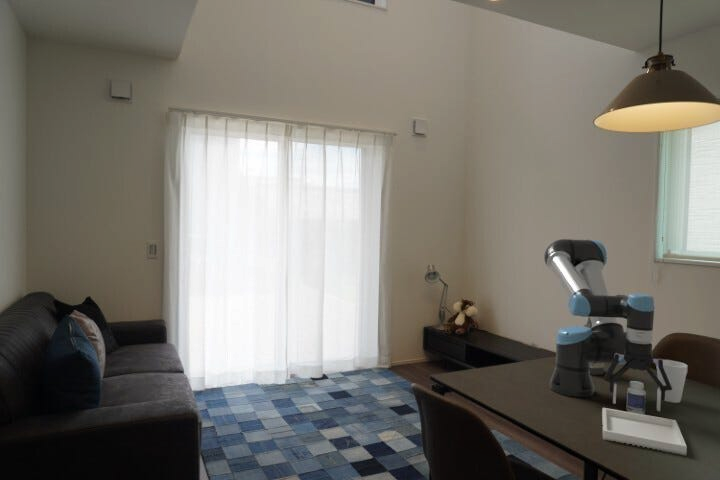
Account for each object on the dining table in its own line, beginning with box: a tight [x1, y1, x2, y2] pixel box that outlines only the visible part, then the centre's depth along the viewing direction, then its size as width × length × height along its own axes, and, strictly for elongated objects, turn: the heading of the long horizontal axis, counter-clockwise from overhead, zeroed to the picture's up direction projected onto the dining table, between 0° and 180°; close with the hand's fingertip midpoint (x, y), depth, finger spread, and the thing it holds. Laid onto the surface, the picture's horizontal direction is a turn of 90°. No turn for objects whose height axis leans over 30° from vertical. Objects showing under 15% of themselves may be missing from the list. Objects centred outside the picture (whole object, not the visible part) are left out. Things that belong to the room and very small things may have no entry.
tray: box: [601, 407, 688, 456], centre depth 143 cm, size 20×20×2 cm
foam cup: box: [655, 359, 688, 404], centre depth 172 cm, size 10×9×13 cm
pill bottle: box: [625, 380, 647, 415], centre depth 160 cm, size 5×5×10 cm
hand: (635, 406), depth 160 cm, fingers open, 12 cm apart
